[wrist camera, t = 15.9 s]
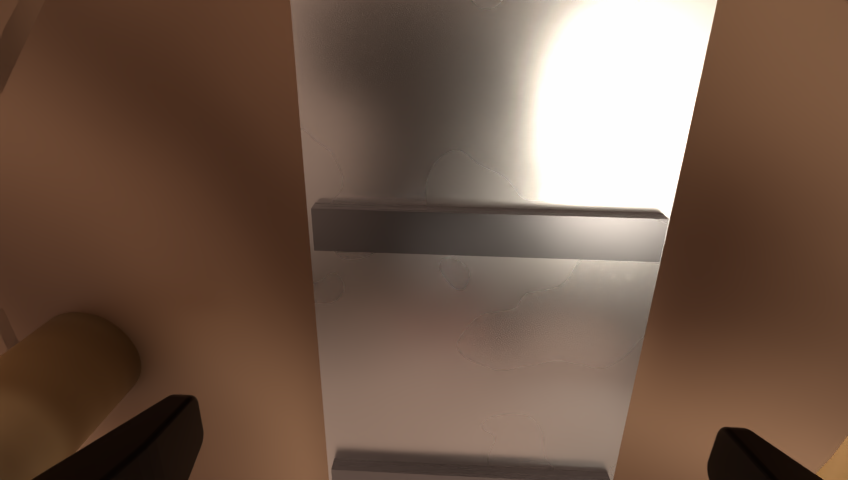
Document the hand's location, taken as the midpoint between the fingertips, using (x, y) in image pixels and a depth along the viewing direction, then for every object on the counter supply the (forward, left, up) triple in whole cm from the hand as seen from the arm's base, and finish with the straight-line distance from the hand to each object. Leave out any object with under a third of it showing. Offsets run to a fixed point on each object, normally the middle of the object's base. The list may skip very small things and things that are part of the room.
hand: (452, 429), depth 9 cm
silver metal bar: (0, 0, -2) cm, 3 cm away
